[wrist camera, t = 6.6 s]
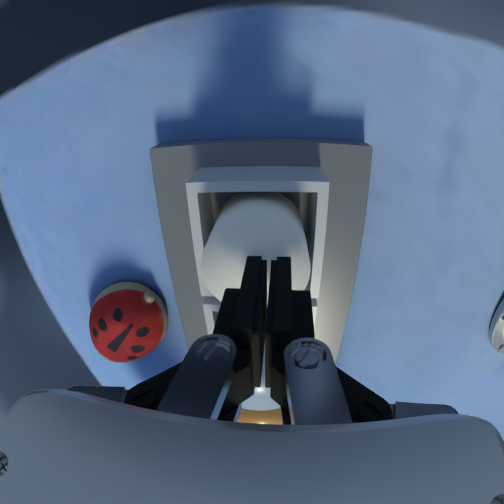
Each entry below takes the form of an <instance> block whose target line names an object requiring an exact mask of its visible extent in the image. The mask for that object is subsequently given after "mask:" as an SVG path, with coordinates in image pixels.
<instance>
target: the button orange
mask: <svg viewBox="0 0 504 504" xmlns="http://www.w3.org/2000/svg"><path fill="white" fill-rule="evenodd" d="M237 422H243V423H257V424H278V425H281V417H280V408H277V409H273V410H263V411H257V410H248V409H243V408H242V409H241V412H240V415H239V418H238V421H237Z"/></svg>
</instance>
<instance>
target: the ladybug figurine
mask: <svg viewBox="0 0 504 504" xmlns="http://www.w3.org/2000/svg"><path fill="white" fill-rule="evenodd" d="M167 325H168V316H167V311H166V308H165V306H164V304H163V302H162V300H161V299H160V298H159V297H158V295H157V294H156V293H155V292H153V291H152V290H151V289H149V288H148V287H146V286H144V285H142V284H139V283H135V282H119V283H115V284H112V285H110V286H108V287H107V288H105V289H104V290H103V291H102V292H101V293H100V294H99V295H98V296H97V297H96V299H95V301H94V303H93V306H92V309H91V313H90V320H89V327H90V334H91V339H92V342H93V344H94V346H95V348H96V350H97V351H98V353H99V354H100V355H101V356H102V357H104V358H105V359H107V360H109V361H113V362H129V361H133V360H136V359H139V358H141V357H143V356H145V355H147V354H148V353H149V352H151V351H152V350H153V349H154V348H155V347H156V346H157V345H158V344H159V343H160V342H161V340H162V339H163V337H164V335H165V333H166V330H167Z"/></svg>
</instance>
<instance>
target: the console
mask: <svg viewBox="0 0 504 504" xmlns="http://www.w3.org/2000/svg"><path fill="white" fill-rule="evenodd" d="M150 155H151V163H152V171H153V178H154V185H155V192H156V198H157V205H158V211H159V217H160V223H161V228H162V234H163V239H164V245H165V250H166V255H167V260H168V265H169V270H170V275H171V279H172V284H173V288H174V293H175V297H176V302H177V306H178V310H179V314H180V318H181V322H182V326H183V330H184V334H185V338H186V342H187V346H188V349H190V347H191V345H192V344H193V343H194V342H195V341H196V340H197V339H198V338H200V337H202V336H205V335H209V334H213V330H214V326H215V323H216V319H217V316H218V312H219V309H220V305H221V301H219V300H218V299H217V298H216V297H215V296H214V295H213V294H212V293H211V292H210V291H209V289H208V288H207V286H206V284H205V282H204V280H203V277H202V273H201V265H200V264H201V257H202V253H203V250H204V248H205V246H206V243H207V241H208V239H209V236H210V234H211V232H212V229H213V227H214V225H215V223H216V220H217V218H218V216H219V214H220V211H221V209H222V208H223V206H224V205H225V203H226V202H227V201H228V200H229V199H230V198H232V197H233V196H235V195H236V194H238V193H240V192H278V193H281V194H283V195H284V196H286V197H287V198H288V199H289V200H291V201H292V202H293V203H294V205H295V206H296V207H297V209H298V210H299V212H300V215H301V217H302V221H303V226H304V232H305V237H306V243H307V248H308V254H309V259H310V266H311V269H310V278H309V281H308V284H307V286H306V288H305V290H310V292H311V301H312V311H313V322H314V334H315V339H318V340H320V341H322V342H324V343H325V344H326V345H327V346H328V347H329V349H330V351H331V353H332V356H333V360H334V363H336V360H337V356H338V352H339V348H340V345H341V341H342V337H343V332H344V328H345V324H346V320H347V315H348V311H349V306H350V302H351V297H352V292H353V287H354V282H355V277H356V271H357V266H358V260H359V255H360V248H361V242H362V236H363V229H364V222H365V215H366V207H367V199H368V190H369V180H370V170H371V158H372V146H371V145H369V144H367V143H365V142H359V141H345V140H329V139H306V138H240V139H216V140H200V141H187V142H175V143H165V144H159V145H156V146H154V147H152V148H150Z"/></svg>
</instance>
